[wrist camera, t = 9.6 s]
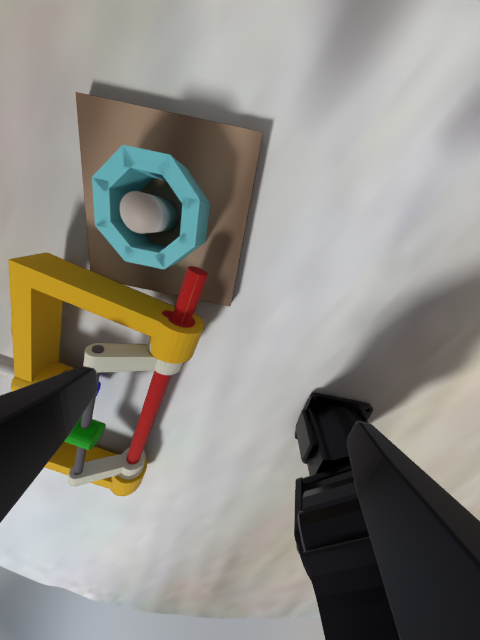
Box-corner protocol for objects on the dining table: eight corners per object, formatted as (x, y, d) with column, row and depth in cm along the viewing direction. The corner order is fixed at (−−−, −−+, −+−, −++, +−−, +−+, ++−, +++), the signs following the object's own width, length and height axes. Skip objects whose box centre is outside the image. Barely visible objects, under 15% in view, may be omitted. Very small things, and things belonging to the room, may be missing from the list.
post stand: (262, 137, 15) (264, 100, 11) (231, 302, 20) (223, 326, 15) (86, 100, 15) (11, 45, 10) (98, 275, 20) (50, 290, 15)
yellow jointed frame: (209, 303, 12) (119, 531, 25) (226, 275, 18) (145, 472, 31) (-159, 145, 10) (-53, 478, 23) (-11, 169, 16) (9, 426, 29)
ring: (213, 173, 15) (203, 161, 12) (202, 266, 18) (192, 275, 15) (121, 154, 15) (88, 137, 12) (123, 250, 18) (97, 255, 15)
